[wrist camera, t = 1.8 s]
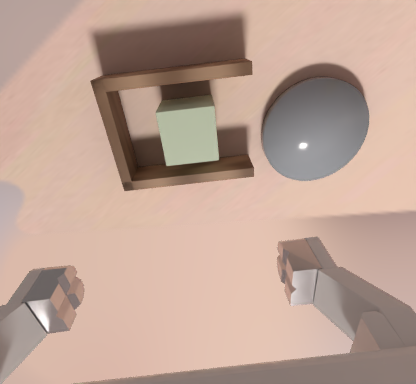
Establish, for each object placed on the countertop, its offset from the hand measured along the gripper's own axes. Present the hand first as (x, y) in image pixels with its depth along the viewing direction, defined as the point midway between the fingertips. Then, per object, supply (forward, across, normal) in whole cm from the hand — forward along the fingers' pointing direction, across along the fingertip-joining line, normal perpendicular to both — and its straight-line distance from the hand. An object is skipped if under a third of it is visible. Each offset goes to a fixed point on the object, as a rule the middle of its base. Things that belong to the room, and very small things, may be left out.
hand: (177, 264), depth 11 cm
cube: (+20, 0, 0) cm, 20 cm away
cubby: (+20, 0, 0) cm, 20 cm away
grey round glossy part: (+20, -13, +2) cm, 24 cm away
